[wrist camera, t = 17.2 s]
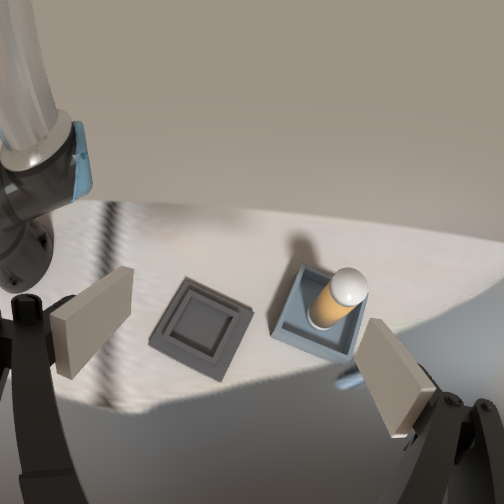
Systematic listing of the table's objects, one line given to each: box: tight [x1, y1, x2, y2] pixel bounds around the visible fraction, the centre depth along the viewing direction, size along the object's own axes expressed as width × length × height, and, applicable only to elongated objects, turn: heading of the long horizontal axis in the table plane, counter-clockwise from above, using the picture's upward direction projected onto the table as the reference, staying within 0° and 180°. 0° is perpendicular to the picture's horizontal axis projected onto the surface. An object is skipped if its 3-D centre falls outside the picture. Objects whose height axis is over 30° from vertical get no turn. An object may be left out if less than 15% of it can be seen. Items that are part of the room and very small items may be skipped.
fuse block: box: [148, 280, 254, 383], centre depth 43 cm, size 12×12×2 cm
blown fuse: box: [306, 268, 368, 331], centre depth 42 cm, size 5×5×12 cm
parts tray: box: [270, 263, 368, 365], centre depth 46 cm, size 12×12×4 cm
